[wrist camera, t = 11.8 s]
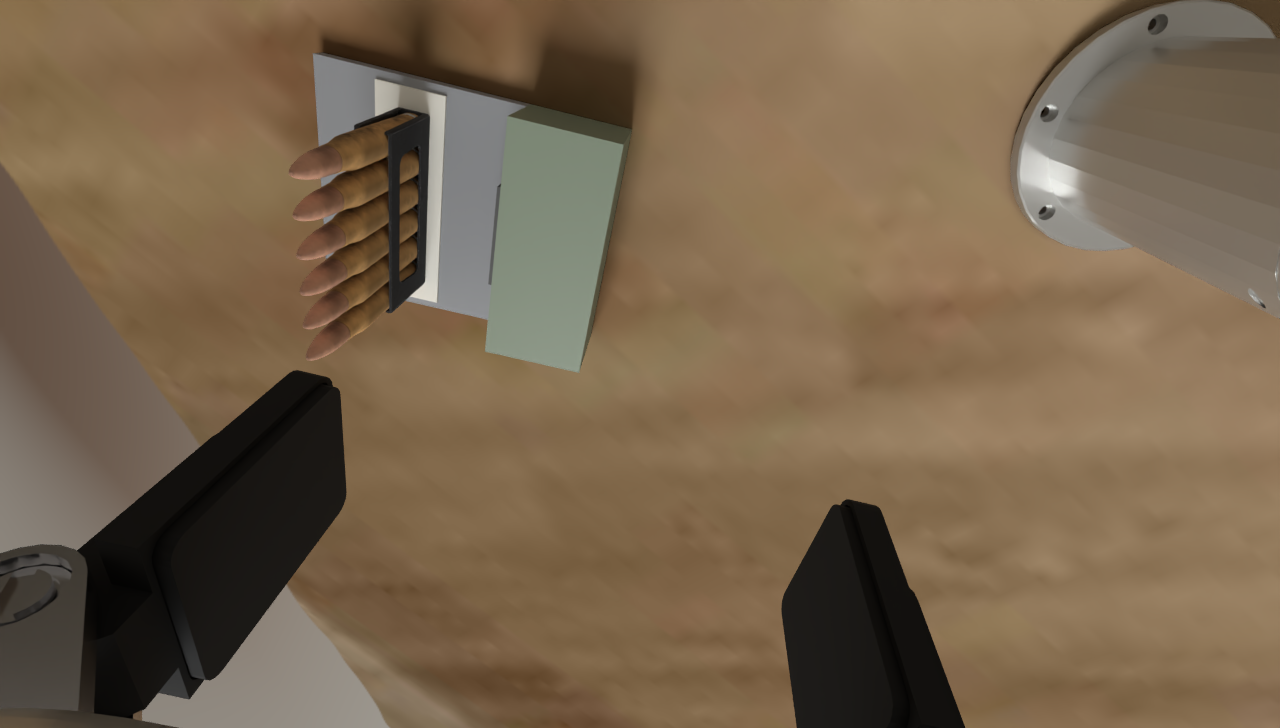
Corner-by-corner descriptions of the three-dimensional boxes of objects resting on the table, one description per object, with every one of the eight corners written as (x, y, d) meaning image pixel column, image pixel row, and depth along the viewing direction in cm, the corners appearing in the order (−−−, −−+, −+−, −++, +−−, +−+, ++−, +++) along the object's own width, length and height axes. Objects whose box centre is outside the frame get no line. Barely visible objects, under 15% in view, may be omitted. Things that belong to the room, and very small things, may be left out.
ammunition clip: (425, 284, 38) (328, 379, 28) (397, 277, 38) (290, 371, 28) (430, 114, 33) (312, 155, 23) (397, 106, 33) (264, 143, 23)
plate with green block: (632, 129, 34) (623, 144, 29) (590, 336, 41) (579, 372, 37) (323, 52, 33) (267, 56, 29) (335, 277, 40) (292, 307, 36)
